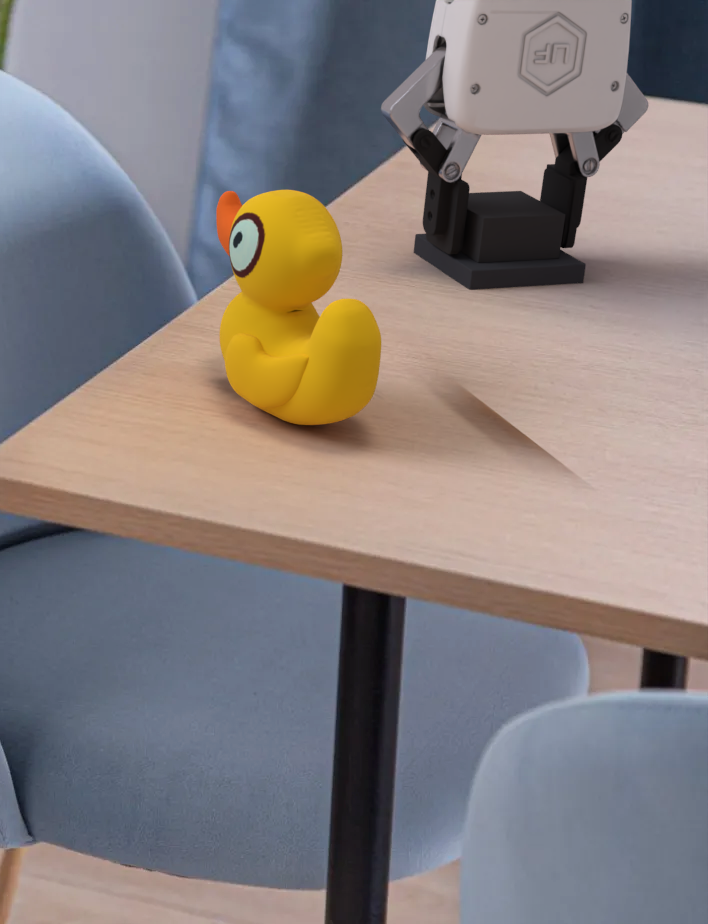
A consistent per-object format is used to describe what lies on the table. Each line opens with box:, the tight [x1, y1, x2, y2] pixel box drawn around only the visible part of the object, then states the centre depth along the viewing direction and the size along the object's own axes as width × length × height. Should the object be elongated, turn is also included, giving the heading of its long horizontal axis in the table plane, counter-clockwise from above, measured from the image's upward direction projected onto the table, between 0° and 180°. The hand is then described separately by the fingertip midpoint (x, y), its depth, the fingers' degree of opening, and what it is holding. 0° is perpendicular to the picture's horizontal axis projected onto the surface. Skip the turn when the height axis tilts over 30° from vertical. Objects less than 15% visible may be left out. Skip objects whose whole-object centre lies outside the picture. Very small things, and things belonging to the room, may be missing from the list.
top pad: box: [460, 190, 565, 263], centre depth 98 cm, size 5×5×2 cm
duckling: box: [215, 189, 382, 426], centre depth 79 cm, size 11×5×10 cm, turn 32°
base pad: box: [413, 233, 587, 291], centre depth 99 cm, size 7×7×2 cm
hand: (499, 241), depth 98 cm, fingers open, 6 cm apart
